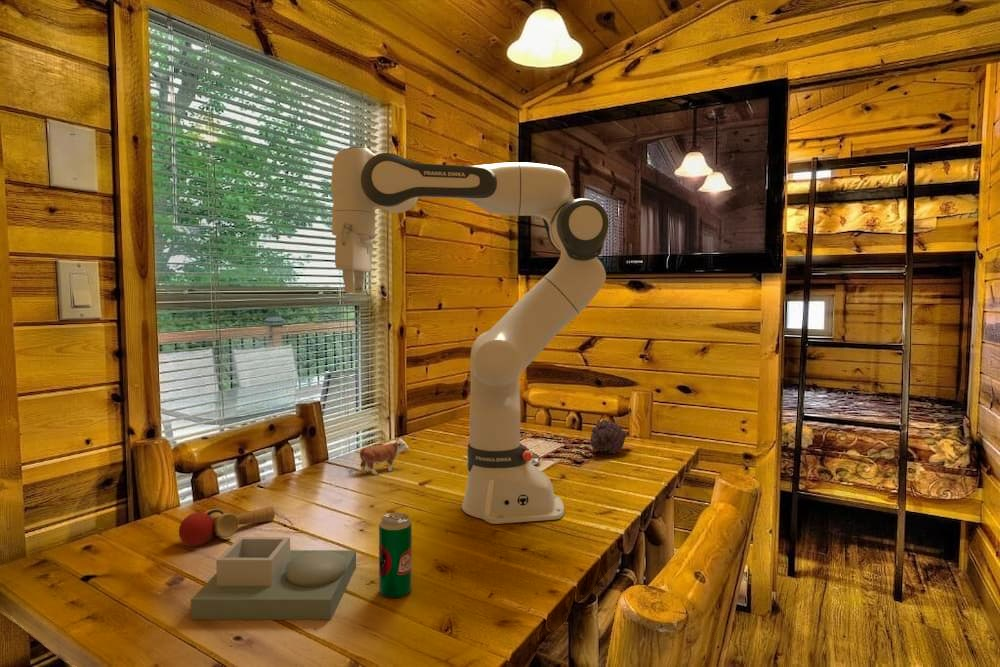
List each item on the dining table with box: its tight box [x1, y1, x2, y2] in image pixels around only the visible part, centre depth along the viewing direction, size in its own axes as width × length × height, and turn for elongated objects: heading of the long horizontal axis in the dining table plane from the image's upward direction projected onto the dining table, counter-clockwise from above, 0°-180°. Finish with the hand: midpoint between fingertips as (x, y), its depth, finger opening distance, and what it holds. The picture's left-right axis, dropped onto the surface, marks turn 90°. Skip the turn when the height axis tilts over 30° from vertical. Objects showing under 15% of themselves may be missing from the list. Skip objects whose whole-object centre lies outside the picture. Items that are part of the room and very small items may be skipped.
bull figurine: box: [359, 438, 409, 475], centre depth 153 cm, size 4×13×8 cm, turn 124°
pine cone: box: [589, 419, 630, 454], centre depth 172 cm, size 18×10×10 cm, turn 139°
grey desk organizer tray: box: [190, 536, 357, 621], centre depth 91 cm, size 20×16×7 cm
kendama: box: [178, 505, 276, 548], centre depth 113 cm, size 8×6×18 cm
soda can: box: [378, 512, 413, 599], centre depth 91 cm, size 5×5×12 cm
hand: (354, 293), depth 123 cm, fingers open, 8 cm apart
